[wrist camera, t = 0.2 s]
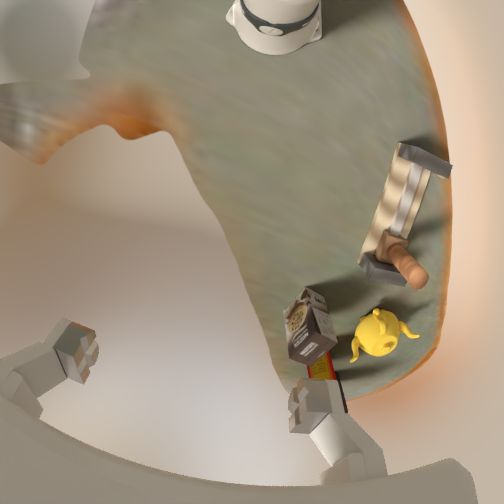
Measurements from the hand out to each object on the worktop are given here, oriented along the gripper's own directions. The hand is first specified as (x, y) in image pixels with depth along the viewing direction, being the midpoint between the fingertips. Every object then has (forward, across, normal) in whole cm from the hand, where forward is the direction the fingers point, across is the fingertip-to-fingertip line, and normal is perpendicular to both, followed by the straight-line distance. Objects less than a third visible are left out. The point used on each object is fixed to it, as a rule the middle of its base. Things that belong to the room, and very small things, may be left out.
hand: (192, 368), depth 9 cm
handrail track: (+48, -34, +1) cm, 59 cm away
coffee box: (+48, -20, +30) cm, 60 cm away
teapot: (+48, -42, +32) cm, 72 cm away
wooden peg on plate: (+47, -34, +9) cm, 58 cm away
